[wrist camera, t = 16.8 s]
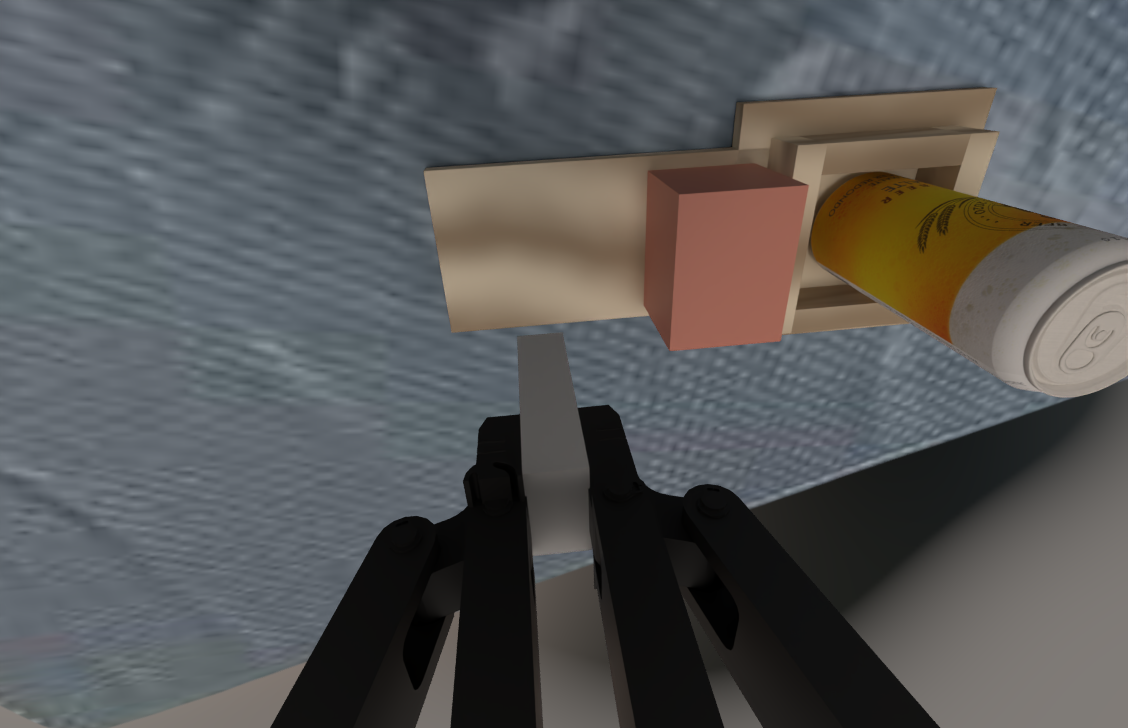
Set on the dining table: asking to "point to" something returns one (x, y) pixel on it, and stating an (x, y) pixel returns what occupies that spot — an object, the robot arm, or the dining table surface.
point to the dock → (619, 202)
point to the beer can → (985, 279)
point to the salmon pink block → (720, 253)
